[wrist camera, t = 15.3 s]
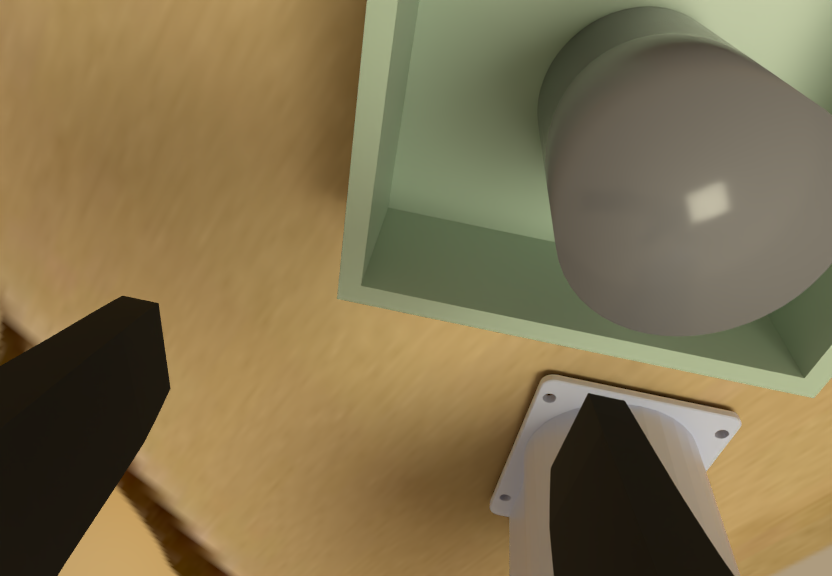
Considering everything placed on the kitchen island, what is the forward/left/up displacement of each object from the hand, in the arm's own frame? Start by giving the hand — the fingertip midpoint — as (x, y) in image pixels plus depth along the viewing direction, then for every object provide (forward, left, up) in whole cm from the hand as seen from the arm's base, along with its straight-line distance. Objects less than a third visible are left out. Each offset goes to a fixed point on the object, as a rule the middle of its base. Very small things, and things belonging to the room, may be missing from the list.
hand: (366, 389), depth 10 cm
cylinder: (+3, -5, -10) cm, 11 cm away
